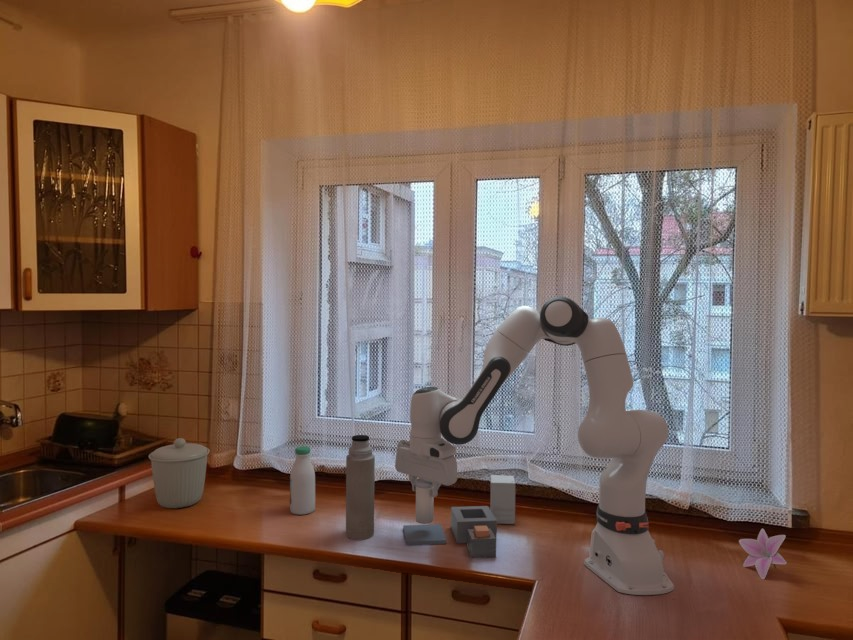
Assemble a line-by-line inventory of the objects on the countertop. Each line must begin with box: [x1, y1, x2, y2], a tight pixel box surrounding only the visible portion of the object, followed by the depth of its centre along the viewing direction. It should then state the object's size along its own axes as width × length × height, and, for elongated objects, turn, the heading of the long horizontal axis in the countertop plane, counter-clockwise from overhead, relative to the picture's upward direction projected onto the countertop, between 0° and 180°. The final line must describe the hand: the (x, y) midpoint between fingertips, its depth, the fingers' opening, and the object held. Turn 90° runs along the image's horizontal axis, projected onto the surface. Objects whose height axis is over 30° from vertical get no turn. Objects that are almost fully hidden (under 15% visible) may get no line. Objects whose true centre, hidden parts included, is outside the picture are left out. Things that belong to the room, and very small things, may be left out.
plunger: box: [474, 526, 489, 537], centre depth 149 cm, size 3×3×6 cm
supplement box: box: [489, 474, 516, 525], centre depth 172 cm, size 7×7×13 cm
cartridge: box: [415, 478, 435, 525], centre depth 159 cm, size 5×5×11 cm
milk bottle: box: [289, 445, 316, 516], centre depth 177 cm, size 8×8×20 cm
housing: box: [450, 505, 498, 544], centre depth 161 cm, size 11×11×6 cm
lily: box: [738, 528, 787, 580], centre depth 142 cm, size 12×12×10 cm
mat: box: [402, 523, 447, 546], centre depth 159 cm, size 11×11×1 cm
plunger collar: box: [466, 529, 497, 559], centre depth 150 cm, size 6×6×5 cm
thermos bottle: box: [345, 434, 376, 541], centre depth 160 cm, size 8×8×28 cm
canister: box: [148, 437, 211, 509], centre depth 182 cm, size 18×18×21 cm
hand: (424, 493), depth 159 cm, fingers closed on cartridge, 5 cm apart
